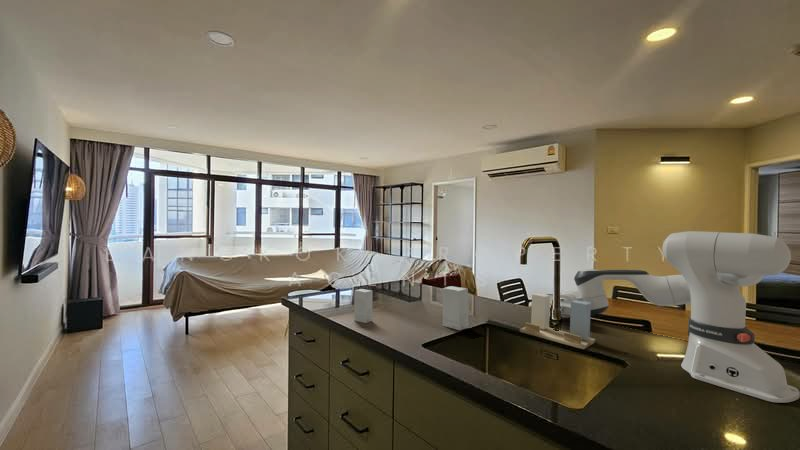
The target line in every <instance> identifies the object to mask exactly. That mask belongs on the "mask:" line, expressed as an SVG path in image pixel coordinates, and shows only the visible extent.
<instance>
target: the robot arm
mask: <svg viewBox="0 0 800 450" xmlns="http://www.w3.org/2000/svg"><path fill="white" fill-rule="evenodd" d="M661 249H662V251H661V252H662V256H663V257H664V259H665V260H666V261H667V263H668V264H670V265H671V266H672V267H674V268H675V269H676V270H677V271H678V272H679V273H680V274H672V275H671V274H670V275H664V276H663V275H662V276H660V275H653V274H650V273H649V272H647V270H641V269H595V268H594V269H593V268H584V269H580V270H578V271H577V273H576V274H575V275H574V278H573V280H574V282H575V285H576V287H577V290H578V291H577V290H574V291H573V290H572V291H568V292H565V293H559V294H560V306H561V314H562V315H561V316H563V317H569V316H570V314H571V302H572V301H574V300H578V301H583V302H589V303H591V312H590V316H595V315H599V314H600V315H601V314H602V313H604V312H606V311H607V310H608V308H609V307H610V303H609V300H608V296H607V294H606V290H605V287H604V283H603V281H605V280H606V281H607V280H609V281H615V280H616V281H620V280H622V281H627V282H630V283H631V284H633V286H634V287H635V288H636V290H638V291H639V293H640V294H641V295H642V296H643V298H645V299H646V300H647V302H649V303H650V304H652V305H655V306H657V307H672V306H680V305H687V304H690V317H689V318H688V325H687V335H688V342H687V347H686V352H685V354H684V357H683V359H682V363H681V365H680V367H681V368H682V369H683V370H685V371H686V372H687V373H689V374H690V376H691V377H692V378H693V379H696V380H697V381H701V382H705V383H708V384H711V385H715V386H718V387H721V388H724V389H727V390H731V391H734V392H736V393H740V394H744V395H748V396H750V397H753V398H756V399H760V400H763V401H766V402H769V403H770V402H771V403H778V404H779V403H786V404H787V403H791V402H794V401H798V400H799V399H800V390H799V389H798V388H797V387H796V386H793V385H789V384H788V381H787V377H786V372H785V369H784V367H783V366H782V365H781V363H780V362H778V361H777V360H775V358H773V357H772V356H770V355H769V354H768V353H766V351H764V350H763V349H762V348H760V347H759V346H758V345H757V344H755V338H756V337H758V335H757V334H758V332H757V331H751V330H750V329H749V328H747V327H746V311H747V309H746V308H747V299H746V298H745V297H744V296H743V294H742V293H741V288H740V287H743V288H744V287H751V286H755V285H757V284H759V283H760V282H761V281H762V280H763V278H764V277H767V276H769V277H770V276H777V275H780V274H781V273H783V272H784V271H786V269H787V268H788V267H789V265H790V263H791V259H792V253H791V250H790V247H789V246H788V245H787V244H786V242H785V241H784V240H782V239H781V238H780V237H777V236H769V235H763V234H760V233H759V234H758V233H754V232H753V233H749V232H725V231H724V232H723V231H702V230H701V231H700V230H699V231H698V230H697V231H695V230H694V231H693V230H690V231H681V232H674V233H670V234H669V235H668V236H667V237H666V238H665V239H664V241H663V242H662V248H661ZM544 294H545V295H550V308H551V305H552V298H553V293H544Z"/></svg>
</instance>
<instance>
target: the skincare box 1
mask: <svg viewBox="0 0 800 450" xmlns="http://www.w3.org/2000/svg"><path fill="white" fill-rule="evenodd" d="M373 293H374V292H373V290H370V289H364V288H359V289H355V290H354V300H353V301H354V306H353V308H354V311H353V321H354V322H359V323H363V324H367V323H370V322H372V321H373Z"/></svg>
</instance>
